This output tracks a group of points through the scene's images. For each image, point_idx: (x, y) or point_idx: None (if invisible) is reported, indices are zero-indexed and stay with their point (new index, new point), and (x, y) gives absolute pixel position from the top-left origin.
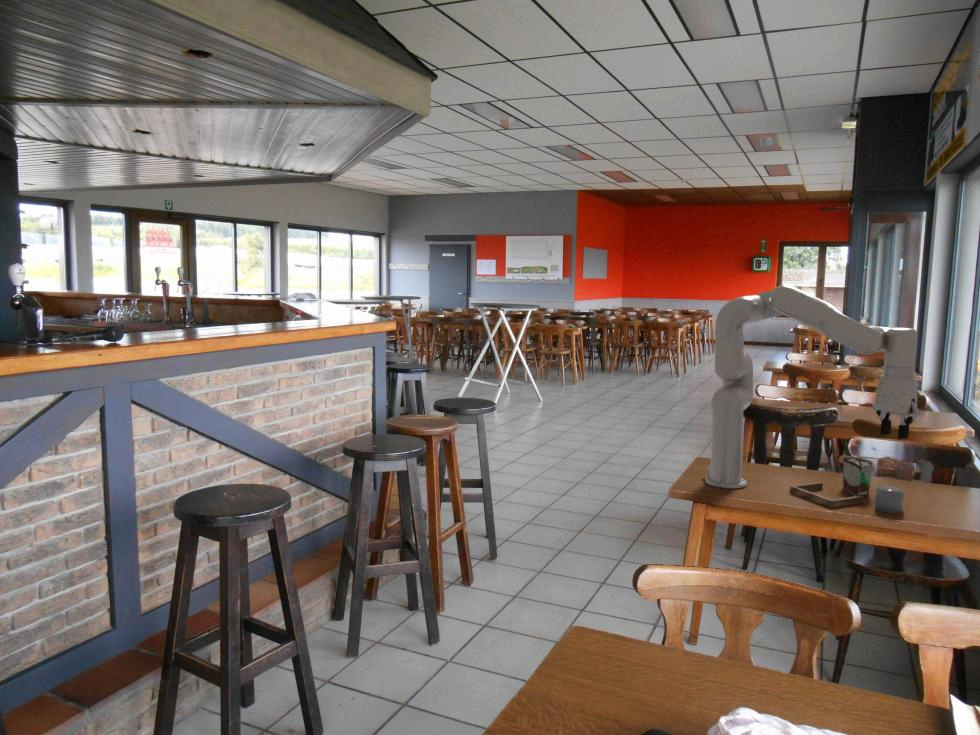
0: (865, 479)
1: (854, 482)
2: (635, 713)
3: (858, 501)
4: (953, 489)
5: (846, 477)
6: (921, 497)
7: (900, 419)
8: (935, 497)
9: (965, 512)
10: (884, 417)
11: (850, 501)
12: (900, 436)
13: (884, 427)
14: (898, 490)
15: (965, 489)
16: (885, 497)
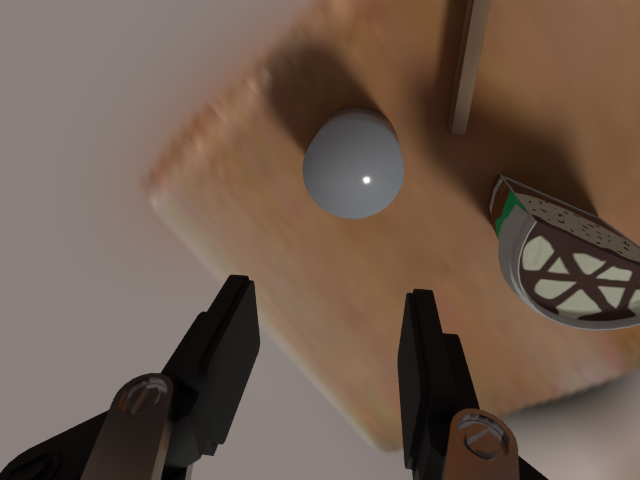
0: (504, 217)
1: (548, 205)
2: None
3: (452, 106)
4: (396, 431)
5: (608, 232)
6: (392, 330)
7: (158, 441)
8: (374, 355)
9: (260, 311)
10: (444, 466)
11: (461, 60)
12: (225, 291)
13: (410, 348)
14: (329, 189)
15: (383, 446)
16: (336, 119)
